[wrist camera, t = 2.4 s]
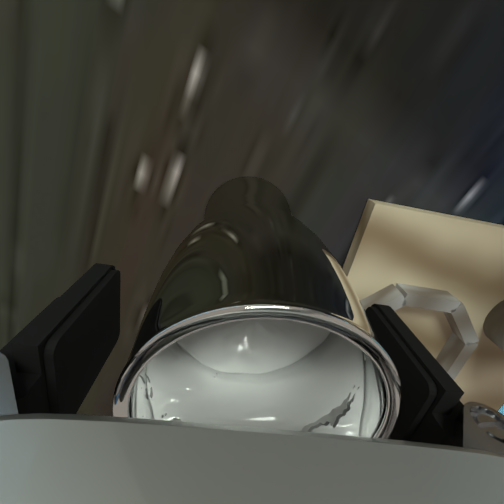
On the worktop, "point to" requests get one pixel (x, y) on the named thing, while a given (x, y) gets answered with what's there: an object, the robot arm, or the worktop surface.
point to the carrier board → (438, 288)
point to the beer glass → (258, 330)
